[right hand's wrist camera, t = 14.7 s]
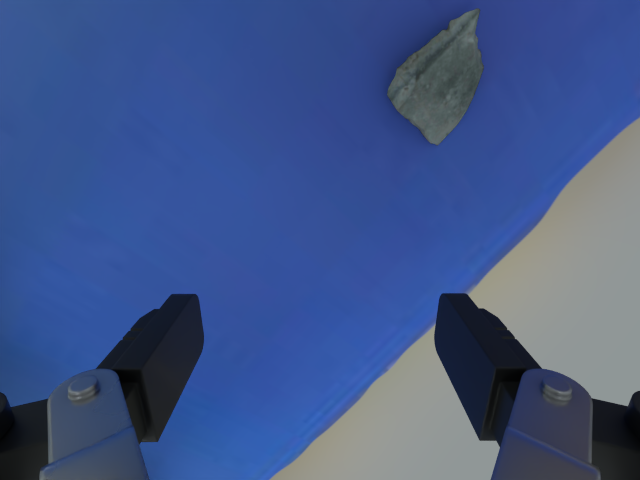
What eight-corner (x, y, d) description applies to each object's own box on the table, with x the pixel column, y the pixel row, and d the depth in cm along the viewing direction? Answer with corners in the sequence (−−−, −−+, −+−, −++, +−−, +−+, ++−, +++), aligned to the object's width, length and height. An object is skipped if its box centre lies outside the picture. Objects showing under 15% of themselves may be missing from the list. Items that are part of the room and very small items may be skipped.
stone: (504, 66, 36) (453, -15, 31) (529, 73, 33) (476, -16, 28) (425, 143, 40) (368, 81, 35) (440, 156, 36) (380, 91, 31)
